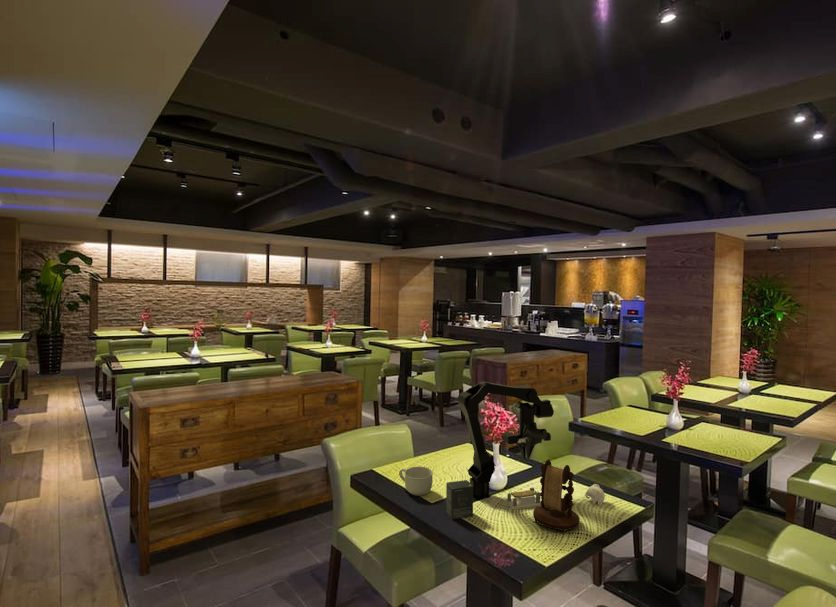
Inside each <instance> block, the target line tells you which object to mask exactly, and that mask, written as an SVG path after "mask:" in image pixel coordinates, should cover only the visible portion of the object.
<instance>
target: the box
mask: <svg viewBox="0 0 836 607" xmlns="http://www.w3.org/2000/svg"><path fill="white" fill-rule="evenodd" d="M445 486H446V489H445V492H446V493H445V494H446V497H445V499H446V502H445V503H446V504H445V505H446V506H445V507H446V508H445V512H446V514H447V515H448V516H449V518H450V519H451V520H452V521H453V520H458V519H464V518H471V517H474V498H473V485H472V484H471V483H470V481H469V480H467V479H464V480H457V481H449V482H446V484H445Z"/></svg>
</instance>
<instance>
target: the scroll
mask: <svg viewBox="0 0 836 607" xmlns="http://www.w3.org/2000/svg"><path fill="white" fill-rule="evenodd" d="M540 469H541V470H540V472H541V476H540V477H541V478H540V479H539V483H540V485H541V487H540V501H541V503H540V504H541V506H537V507H534V509H533V511H532V517H533V520H534V523H535V524H537V523H538V524H540V525H542V526H544V527H546V528H551V529H554V530H561V533H563V534H565V532H566V530H572V529H575V528H578V526H580V523H581V520H580V516H579V514H578V513H577V512H575V511H574V510H573V506H574V501H573V499H574V498H573V494H574V491H575V487H573V486H574V483H573V481H574V477H575V474H574V473H573V472H571V467H570V466H569V465H568V464H566V465H564V467H563V468H561V467H557V466H553V465H552V462H551V460H550V459H547V460H546V461H545V462H544V463H543V464H541V465H540ZM567 482H568V483H567ZM566 485H568V486H566ZM563 491H566V492H567V493H565V494H564V496H563V497H562V493H563Z"/></svg>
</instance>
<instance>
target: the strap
mask: <svg viewBox="0 0 836 607" xmlns="http://www.w3.org/2000/svg"><path fill="white" fill-rule="evenodd" d="M536 492H537V491H536V490H535V489H534V490H530V489H528V490H523V491H522V490H521V491H514V492H510V494H511V497H513V498H516V497H524V496H531V495H534V496H536Z"/></svg>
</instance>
